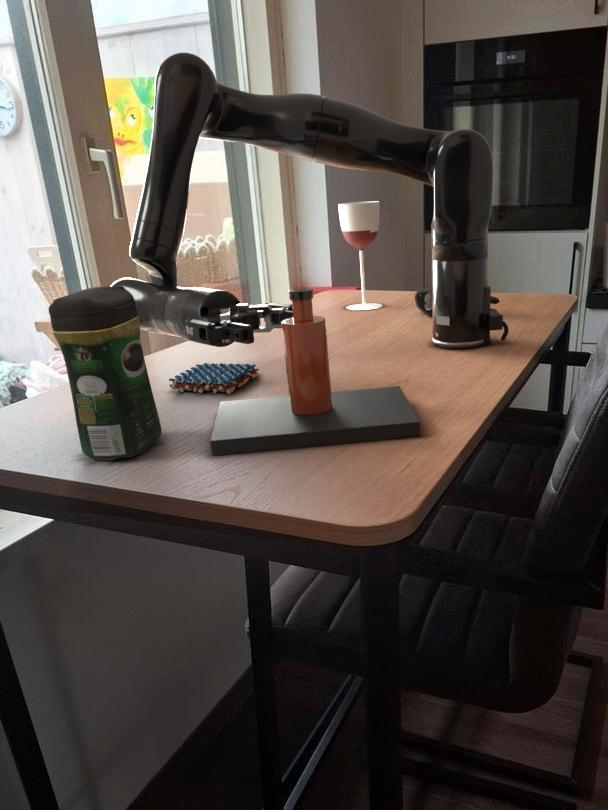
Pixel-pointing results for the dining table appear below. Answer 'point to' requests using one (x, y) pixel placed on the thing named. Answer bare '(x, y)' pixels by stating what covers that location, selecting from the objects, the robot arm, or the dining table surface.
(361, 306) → the wineglass
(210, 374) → the woven mat
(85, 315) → the coffee jar
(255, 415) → the cutting board
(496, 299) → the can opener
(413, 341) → the dining table surface
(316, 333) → the oil bottle
